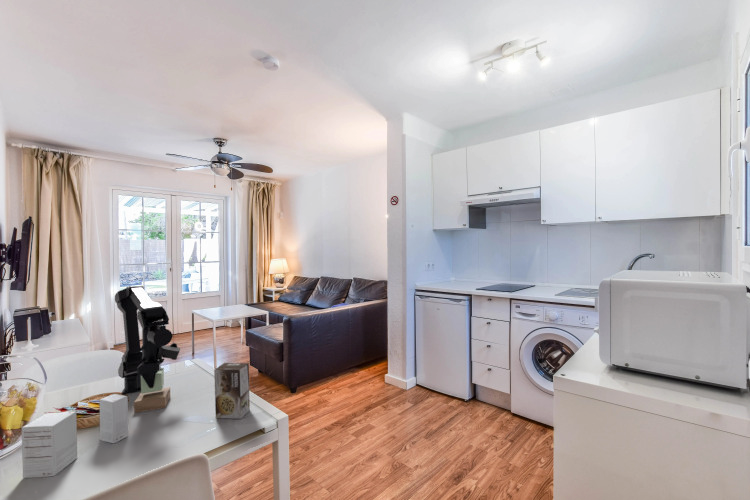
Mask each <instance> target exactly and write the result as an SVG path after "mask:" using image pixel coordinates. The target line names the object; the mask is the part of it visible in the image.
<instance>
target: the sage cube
mask: <svg viewBox="0 0 750 500" xmlns="http://www.w3.org/2000/svg"><path fill="white" fill-rule="evenodd" d="M164 370H165V369H164V367H161V369H160V370H159V371H158V372H157V373H156V376H155V382H154V387H153V388H149V387H148V385H147V383H146V382H145V380H144V379H143V377H142V376H141V391H140V393H141V394H144V393H150V392H155V391H161V390H162V388H164V385H165V379H164V377H165V374H164V373H165V372H164Z"/></svg>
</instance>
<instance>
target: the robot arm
mask: <svg viewBox="0 0 750 500" xmlns="http://www.w3.org/2000/svg"><path fill="white" fill-rule="evenodd" d="M144 288H145V287H144V285H141V284H139V285H137V284H136V285H129V286H126V288H124V289H120V290H118V291H117V292H116V293H115V294H114V303H115V304H116V306H117V309H118V310H119V311H120V312H121V313H122V317H123V328H124V329H123V330H124V340H125V351H124V353H123V355H122V357H121V362H120V365H119V368H118V370H117V374H118V377H120V378H121V379H123V381H124V382H123V383H124V385H123V386H124V388H123V390H121V394H122V393H123V394H128V393H135V392H139V391H140V392H141V376H142V377H143V379H144V380H145V382H146V383H147V385H148V387H149V388H153V387H154V382H155V376H156V373H157V372H158V371H159V370H160V369H161V368H162V366H161V365H162V364H163V363H164V362H165V358H166V359H171V360H173V361H174V360H175V361H176V360H177V359H178V356H179V354H180V351H181V348H180V347H178V343H176V342H172V343H171V344H170V345H169V343H170V342H171V341H172V339H173V333H172V331H171V330H170V329H167V325H169V324H170V323H169V321H170V318H169V315H168V313H167V310H166V309H165V307H164V306H163V305H162V304H160V303H159V302H156V301H153V300H152V299H151V298H150V296H149V295H148V293H147V292H146V290H145V289H144ZM139 324H140V326H141V331H142V332H141V338H142V341H141V339H140V330H139V329H140V328H139ZM141 342H142V345H141Z"/></svg>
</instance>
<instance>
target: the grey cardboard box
mask: <svg viewBox="0 0 750 500" xmlns="http://www.w3.org/2000/svg"><path fill="white" fill-rule="evenodd" d="M249 366H250V363H248V362H224V363H222V364H221V365H219V366H217V368H214V370H213V371H214V372H213V374H214V397H215V398H214V401H215V402H214V405H215V406H214V407H215V409H214V410H215V418H216V419H235V420H237V419H242V418H244V417H245V416H246V415H247V413H249V412H250V408H251V407H250V406H251V405H250V404H251V403H250V367H249Z"/></svg>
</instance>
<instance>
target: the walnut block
mask: <svg viewBox="0 0 750 500" xmlns="http://www.w3.org/2000/svg"><path fill="white" fill-rule="evenodd" d="M170 399H171V386H170V387H169V386H168V387H163V388H162V390H161V391H155V392H150V393H144V394H141V392H140V393H139V394H138V396H137V398H136V399H135V400H134V402H133V408H134V409H133V411H134V412H133V413H134V414H136V413H141V412H147V411H148V412H149V411H152V410H158V409H159V410H160V409H165V408H166V407H167V404H168V403H169V401H170Z"/></svg>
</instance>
